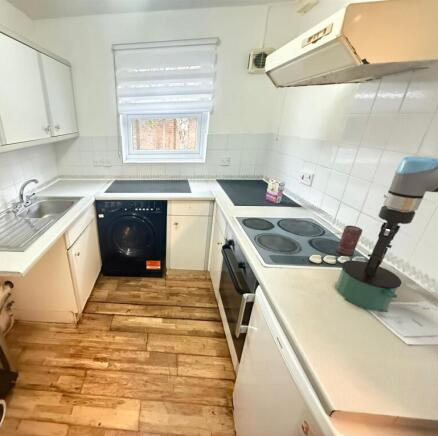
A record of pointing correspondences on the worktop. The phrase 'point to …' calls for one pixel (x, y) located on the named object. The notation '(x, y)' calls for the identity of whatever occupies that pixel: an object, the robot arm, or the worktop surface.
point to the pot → (364, 293)
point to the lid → (380, 279)
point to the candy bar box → (275, 191)
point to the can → (349, 240)
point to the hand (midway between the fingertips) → (372, 268)
